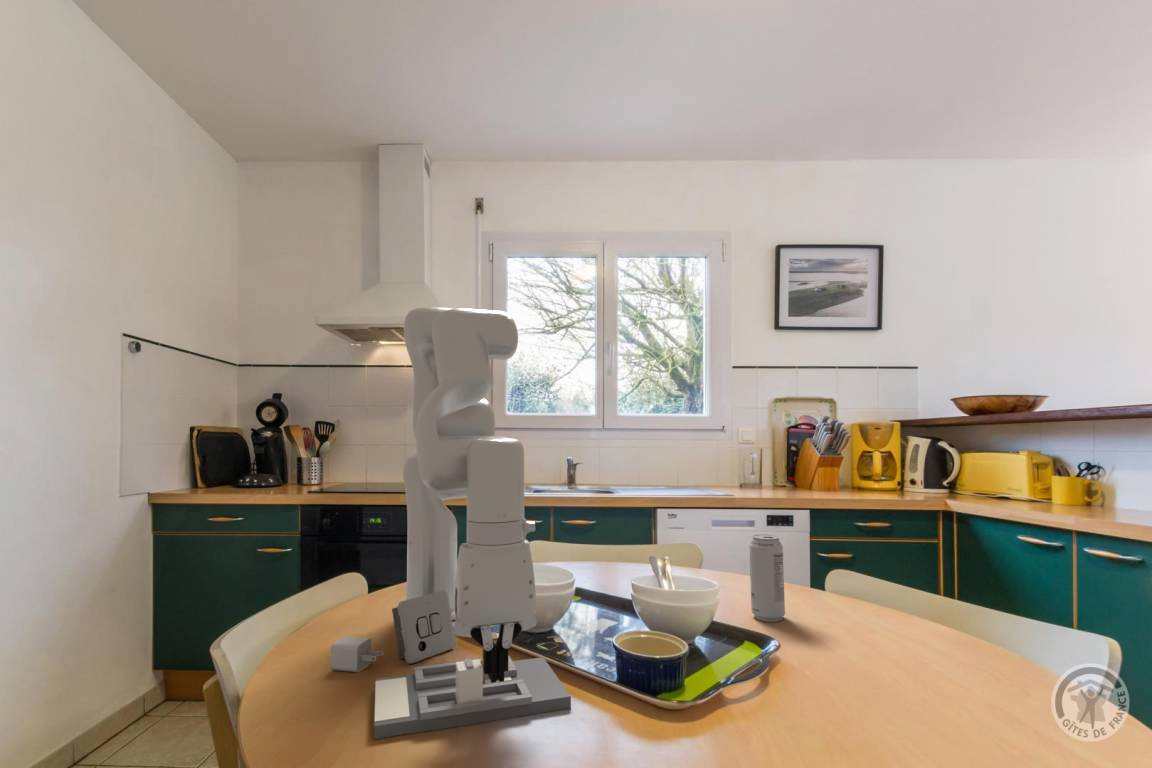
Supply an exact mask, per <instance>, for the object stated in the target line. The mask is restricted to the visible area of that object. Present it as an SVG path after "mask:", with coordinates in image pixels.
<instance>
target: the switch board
mask: <svg viewBox="0 0 1152 768" xmlns="http://www.w3.org/2000/svg"><path fill="white" fill-rule="evenodd" d="M477 659H479V660H480V662H481V665H482V658H477ZM477 659H475V660H477ZM461 661H462V660H461ZM461 661H459V662H461ZM456 662H457V661H454V662H447V663H446V662H445V663H438V664H430V665H424V666H423V665H422V666H414V673H412V674H411V673H410V674H404V675H403V674H402V675H395V676H388V677H387V676H386V677H381V678H375V690H374V691H375V693H374V696H375V697H374V725H373V726H374V729H373V730H374V731H373V734H374V735H373V736H374V737H373V739H374V740H378V739H377V738H380V739H384V738H383V737H387V738H391V737H390V736H393V737H397V736H396V735H399V736H402V735H401V734H406V735H410V734H409V733H412V734H417V732H418V733H424V732H423V731H425V732H430V730H431V731H436V730H442V729H449V728H450V729H451V728H455V727H463V726H470V725H474V724H480V723H481V724H482V723H487V722H492V721H499V720H505V719H512V718H518V717H525V716H531V715H535V714H536V715H538V714H544V713H549V712H556V711H562V710H568V709H571V708H572V697H571V694H570V693H569V692H568V690H567V689H566V687H565V686H564V685H563V683H562V682H561V680H560V679H559V677H558V676H557V674H556V673H555V672H554V669H552V667H551V666H550V664H549V663H548V662H547V660H546V658H545V657H544V656H543V657H534V658H529V659H528V658H526V659H520V660H519V659H518V660H512V658H511V656H510V655H509V654H508V671H504V681H502V682H500V681H498V679H497V681H496V682H495V683H491V681H490V679H489V676H488V674H484V671H483V700H482V701H475V702H468V703H461V704H457V702H456Z"/></svg>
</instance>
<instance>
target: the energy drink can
mask: <svg viewBox="0 0 1152 768" xmlns="http://www.w3.org/2000/svg"><path fill="white" fill-rule="evenodd" d="M749 568H750V569H749V573H750V576H749V577H750V601H751V602H750V603H751V605H750V606H751V610H750V611H751V613H752V614H753V615H754V618H755V619H756V620H758V621H763V622H765V623H767V622H769V623H774V622H775V623H776V622H780V621H782V620H783V617H784V616H785V615H786V607H785V605H786V604H785V603H786V602H785V580H784V579H785V577H784V575H785V574H784V573H785V571H784V546H783V544H782V543H781V541H780V537H779V536H778V535H773V534H754V535H752V540H751V542H750V543H749Z"/></svg>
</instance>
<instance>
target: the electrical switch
mask: <svg viewBox="0 0 1152 768" xmlns="http://www.w3.org/2000/svg"><path fill="white" fill-rule="evenodd" d="M391 612H392V618H393V624H394V631H395V638H396V645H397V651H398V657H399V659H400V660H401V659H402V660H403V659H405V662H406V663H407V664H408V665H411V664H415V663H417V662H420V661H424V660H425V659H428V658H431V657H434V656H436V655H439V654H441V653H444V652H446V651H450V650H453V649H454V648H456V644H457V641H456V635H455V633H454V630H453V628H454V623H453V620H452V617H451V612H450V606H449V600H448V594H447V592H446V591H438V592H434V593H431V594H427V595H423V596H420V597H416V598H412V599H409V600H407V599H405V600H401V601H400V602H398V604H397V607H393V608H392V609H391Z"/></svg>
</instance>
